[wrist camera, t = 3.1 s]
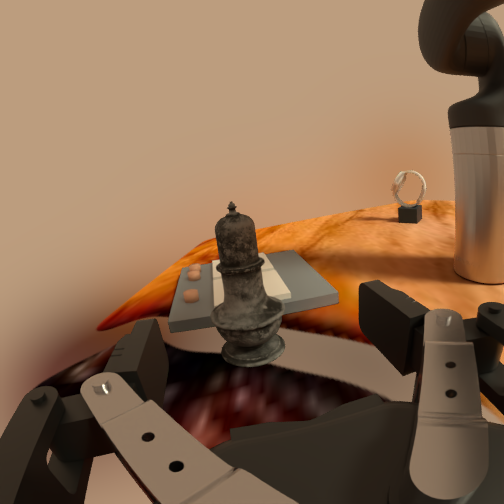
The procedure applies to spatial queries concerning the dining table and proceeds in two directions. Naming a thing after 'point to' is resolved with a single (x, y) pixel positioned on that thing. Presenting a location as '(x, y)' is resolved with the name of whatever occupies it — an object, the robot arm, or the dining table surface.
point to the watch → (408, 211)
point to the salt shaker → (245, 296)
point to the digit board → (274, 280)
